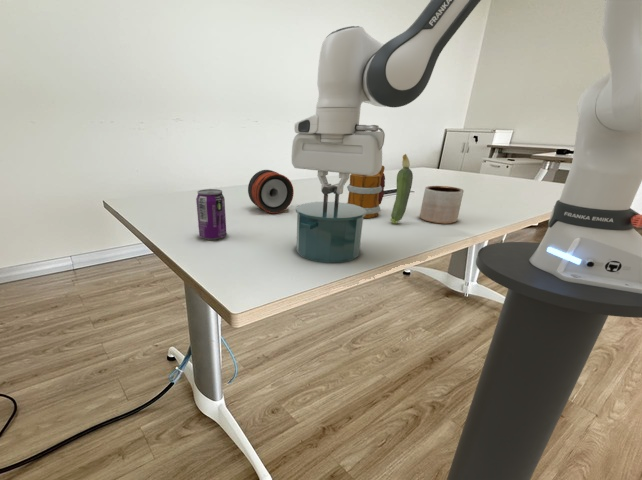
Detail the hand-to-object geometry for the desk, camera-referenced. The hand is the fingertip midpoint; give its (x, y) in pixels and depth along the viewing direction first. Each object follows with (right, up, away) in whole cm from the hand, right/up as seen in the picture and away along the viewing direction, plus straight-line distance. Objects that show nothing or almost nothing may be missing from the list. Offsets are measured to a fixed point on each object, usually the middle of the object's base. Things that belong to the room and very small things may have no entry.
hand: (331, 192), depth 76 cm
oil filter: (-14, +5, +43) cm, 46 cm away
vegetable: (+24, -3, +28) cm, 37 cm away
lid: (0, -4, +2) cm, 4 cm away
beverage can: (-29, -8, +15) cm, 34 cm away
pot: (0, -12, +6) cm, 14 cm away
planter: (+39, -1, +32) cm, 50 cm away
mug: (+18, +3, +39) cm, 43 cm away
